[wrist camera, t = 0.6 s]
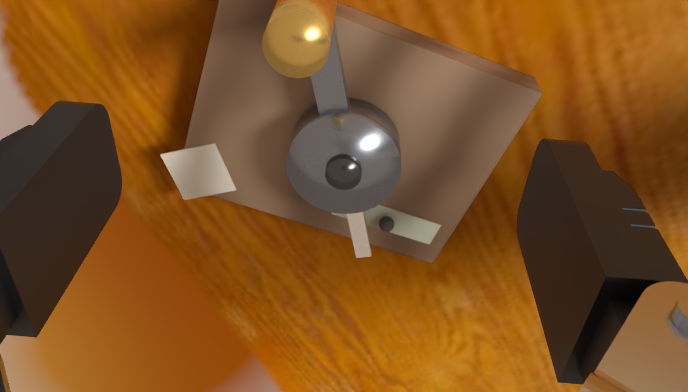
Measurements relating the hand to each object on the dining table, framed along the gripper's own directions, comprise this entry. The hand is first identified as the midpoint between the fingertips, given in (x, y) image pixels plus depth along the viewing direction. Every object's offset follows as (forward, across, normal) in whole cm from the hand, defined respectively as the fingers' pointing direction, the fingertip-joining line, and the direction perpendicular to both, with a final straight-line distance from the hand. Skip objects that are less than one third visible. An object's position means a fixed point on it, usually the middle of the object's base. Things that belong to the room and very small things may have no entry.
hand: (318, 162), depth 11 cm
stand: (+22, 0, +12) cm, 25 cm away
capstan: (+20, 0, +10) cm, 22 cm away
